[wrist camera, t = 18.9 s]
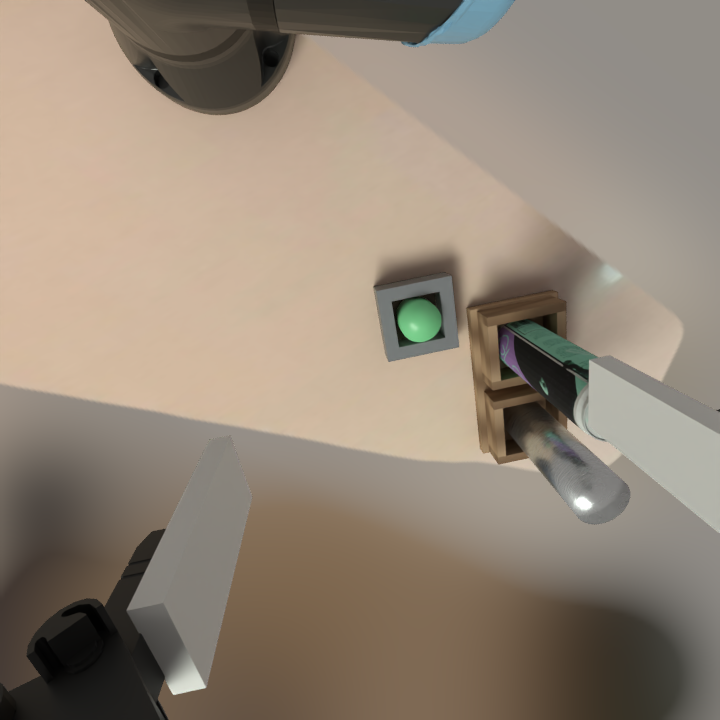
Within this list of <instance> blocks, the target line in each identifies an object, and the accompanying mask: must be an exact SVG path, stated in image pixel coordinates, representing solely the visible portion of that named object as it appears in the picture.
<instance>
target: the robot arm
mask: <svg viewBox="0 0 720 720" xmlns="http://www.w3.org/2000/svg"><path fill="white" fill-rule="evenodd" d="M85 1H86V2H87V3H89V4H90V5H91V6H92V7H93V8H94V9H96V10H97V11H98V12H99V13H100V14H102V15H103V16H104V17H105V18H106V19H108V21H109V23H110V26H111V29H112V31H113V33H114V36H115V38H116V40H117V42H118V44H119V46H120V47H121V49H122V51H123V52H124V54H125V55H126V57H127V58H128V60H129V61H130V63H131V64H132V65H133V67H134V68H135V69H136V70H137V71H138V73H139V74H140V75H141V76H142V77H143V78H144V79H145V80H146V81H147V82H148V83H149V84H150V85H152V86H153V87H154V88H155V89H156V90H158V91H159V92H161V93H162V94H163V95H165V96H166V97H168V98H169V99H170V100H172V101H174V102H175V103H177V104H179V105H181V106H183V107H185V108H187V109H190V110H193V111H196V112H199V113H204V114H211V115H227V114H233V113H237V112H241V111H244V110H246V109H248V108H251V107H252V106H254V105H256V104H257V103H259V102H260V101H262V100H263V99H264V98H265V97H267V96H268V95H269V94H270V93H271V92H272V90H273V89H274V88H275V87H276V85H277V84H278V83H279V81H280V80H281V78H282V76H283V74H284V73H285V71H286V68H287V66H288V64H289V61H290V58H291V54H292V51H293V46H294V40H295V34H306V35H320V36H333V37H347V38H361V39H375V40H389V41H401V42H402V44H404V45H406V46H409V47H419V46H425V45H427V44H429V43H440V44H444V43H445V44H462V43H466V42H468V41H471V40H474V39H476V38H478V37H480V36H482V35H483V34H485V33H486V32H487V31H489V30H490V29H491V28H492V27H493V26H494V25H495V24H496V23H497V22H498V21H499V20H500V19H501V18H502V17H503V16H504V14H505V13H506V12H507V11H508V9H509V8H510V7H511V5H512V4H513V3H514V1H515V0H85ZM588 426H589V427H591V428H592V429H593V430H594V431H595V432H597V433H598V434H599V435H600V436H602V437H603V438H604V439H605V440H606V441H608V442H609V443H610V444H611V445H612V446H614V447H615V448H616V449H617V450H619V451H620V452H621V453H622V454H623V455H625V456H626V457H627V458H628V459H630V460H631V461H632V462H633V463H634V464H636V465H637V466H638V467H639V468H641V469H642V470H643V471H644V472H645V473H647V474H648V475H649V476H650V477H651V478H653V479H654V480H655V481H657V483H659V484H660V485H661V486H662V487H664V488H665V489H666V490H667V491H669V492H670V493H671V494H672V495H673V496H675V497H676V498H677V499H678V500H679V501H681V502H682V503H683V504H684V505H685V506H687V507H688V508H689V509H690V510H692V511H693V512H694V513H695V514H696V515H698V516H699V517H700V518H701V519H702V520H704V521H705V522H706V523H707V524H709V525H710V526H711V527H712V528H713V529H715V530H716V531H717V532H718V533H720V409H719V410H714V409H712V408H711V407H708V406H707V405H705V404H703V403H701V402H699V401H697V400H695V399H693V398H691V397H689V396H687V395H685V394H683V393H682V392H679V391H678V390H675V389H674V388H672V387H670V386H668V385H666V384H664V383H662V382H660V381H658V380H656V379H654V378H652V377H651V376H649V375H647V374H645V373H643V372H641V371H639V370H637V369H635V368H633V367H631V366H629V365H627V364H625V363H623V362H622V361H620V360H618V359H616V358H614V357H612V356H610V355H609V356H605V357H600V358H595V359H590V360H589V402H588ZM251 500H252V495H251V492H250V489H249V486H248V483H247V480H246V478H245V475H244V472H243V469H242V466H241V464H240V461H239V458H238V455H237V452H236V450H235V446H234V443H233V441H232V438H231V436H230V435H229V436H224V437H219V438H215V439H210V440H209V441H208V444H207V446H206V448H205V450H204V452H203V454H202V456H201V458H200V460H199V462H198V464H197V466H196V468H195V470H194V472H193V474H192V476H191V479H190V481H189V483H188V485H187V487H186V489H185V491H184V493H183V495H182V497H181V499H180V501H179V503H178V506H177V507H176V509H175V512H174V514H173V516H172V518H171V520H170V522H169V524H168V526H167V528H166V529H162V530H157V531H153V532H151V533H150V534H149V535H148V536H147V537H146V538H145V539H144V540H143V541H142V543H140V545H139V546H138V547H137V548H136V550H135V552H134V554H133V556H132V558H131V560H130V561H129V563H128V564H129V566H127V567H126V568H125V570H124V572H123V574H122V576H121V580H119V581H118V583H117V585H116V587H115V589H114V590H113V592H112V594H111V596H110V598H109V600H108V602H107V603H106V605H105V607H104V606H103V605H102V603H100V602H99V601H98V600H97V599H84V600H80V601H77V602H74V603H72V604H70V605H68V606H67V607H65V608H63V609H61V610H59V611H58V612H57V613H56V614H54V615H53V616H52V617H51V618H49V619H48V620H47V621H46V622H45V623H44V624H43V625H42V626H41V627H40V628H39V629H38V631H37V632H36V633H35V634H34V636H33V638H32V640H31V642H30V643H29V645H28V649H27V657H28V659H29V660H30V662H31V663H32V664H33V666H34V667H35V668H36V670H37V671H38V673H39V674H40V675H41V676H39V677H37V678H35V679H33V680H31V681H29V682H27V683H25V684H23V685H21V686H19V687H17V688H15V689H13V690H11V691H9V692H8V691H7V690H6V688H5V687H4V686H3V684H1V683H0V720H168V718H167V716H166V714H165V712H164V710H163V708H162V706H161V704H160V702H159V701H158V696H159V693H160V690H161V687H162V684H163V681H164V679H165V681H166V683H167V685H168V686H169V688H170V690H171V692H172V694H173V695H175V694H179V693H184V692H188V691H193V690H198V689H202V688H206V686H207V682H208V678H209V674H210V670H211V666H212V662H213V657H214V653H215V649H216V645H217V641H218V637H219V633H220V628H221V624H222V620H223V616H224V611H225V608H226V604H227V599H228V595H229V591H230V587H231V583H232V579H233V574H234V570H235V566H236V562H237V558H238V554H239V550H240V545H241V541H242V537H243V533H244V529H245V524H246V520H247V517H248V512H249V508H250V504H251Z"/></svg>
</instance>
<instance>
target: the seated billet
mask: <svg viewBox="0 0 720 720" xmlns="http://www.w3.org/2000/svg"><path fill="white" fill-rule="evenodd" d="M503 418H504V428H505V429H506V430H507V432H508V433H509V434H510V435H511V437H512V438H513V439H514V440H515V441H516V443H517V444H518V445H519V446H520V448H521V449H522V450H523V451H524V452H525V454H526V455H527V456H528V457H529V458H530V460H531V461H532V462H533V463H534V465H535V466H536V467H537V468H538V469H539V471H540V472H541V473H542V474H543V476H544V477H545V478H546V479H547V480H548V482H549V483H550V484H551V485H552V486H553V488H554V489H555V490H556V491H557V492H558V493H559V495H560V496H561V497H562V499H563V500H564V501H565V502H566V503H567V505H568V506H569V507H570V508H571V509H572V511H573V512H574V513H575V514H576V516H577V517H578V518H579V519H580V520H581V521H583V522H585V523H588V524H602V523H606V522H608V521H610V520H612V519H614V518H616V517H617V516H618V515H620V513H622V512H623V511H624V509H625V508H626V506H627V505H628V502H629V499H630V490H629V487H628V485H627V484H626V483H625V482H624V481H623V480H622V479H621V478H620V477H619V476H618V475H616V474H615V473H614V472H613V471H612V470H611V469H610V468H609V467H608V466H607V465H605V464H604V463H603V462H602V461H601V460H600V459H599V458H598V457H597V456H596V455H594V454H593V453H592V452H591V451H590V450H589V449H588V448H587V447H586V446H585V445H584V444H582V443H581V442H580V441H579V440H578V439H577V438H576V437H575V436H574V435H573V434H571V433H570V432H569V431H568V430H567V429H566V428H565V427H564V426H563V425H562V424H560V423H559V422H558V421H557V420H556V419H555V418H554V417H553V416H552V415H551V414H549V413H548V412H547V411H546V410H545V409H544V408H543V407H542V406H541V405H540V404H539V403H537V402H536V401H535V402H530V403H525V404H521V405H516V406H511V407H506V408H503Z"/></svg>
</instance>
